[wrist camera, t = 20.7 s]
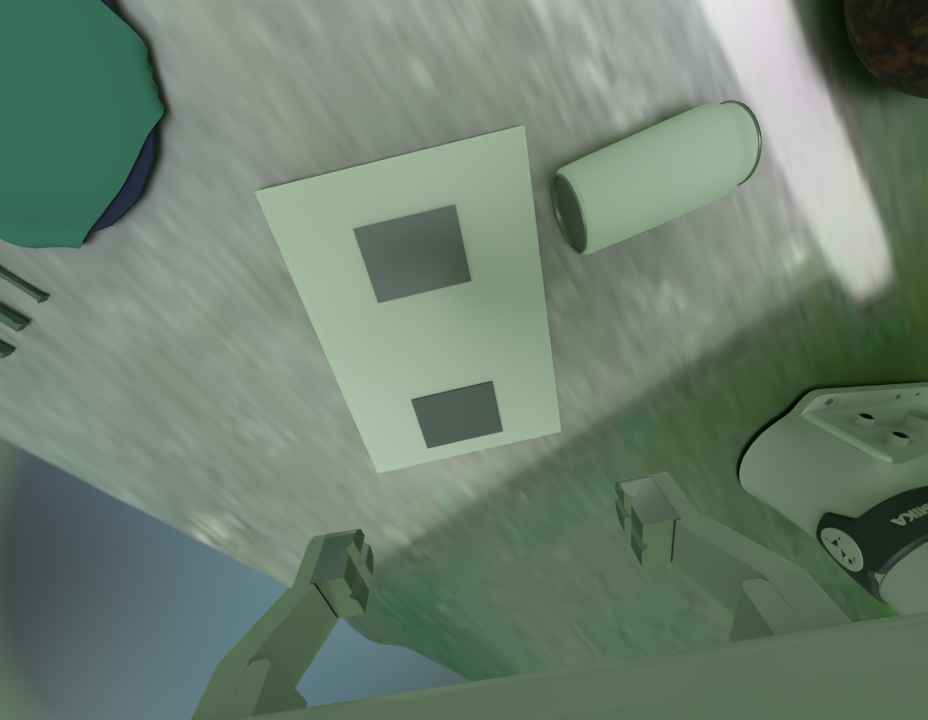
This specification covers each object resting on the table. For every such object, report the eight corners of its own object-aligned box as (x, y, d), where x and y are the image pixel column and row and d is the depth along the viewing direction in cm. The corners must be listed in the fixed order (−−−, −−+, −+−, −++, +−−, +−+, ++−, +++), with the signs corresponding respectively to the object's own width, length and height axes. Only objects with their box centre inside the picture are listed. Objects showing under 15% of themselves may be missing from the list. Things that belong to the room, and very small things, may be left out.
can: (552, 221, 31) (690, 161, 30) (586, 274, 28) (742, 209, 27) (547, 151, 26) (715, 74, 24) (588, 207, 22) (785, 122, 21)
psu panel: (521, 126, 27) (525, 124, 26) (558, 426, 39) (562, 433, 38) (260, 191, 27) (252, 191, 26) (378, 466, 40) (377, 475, 39)
